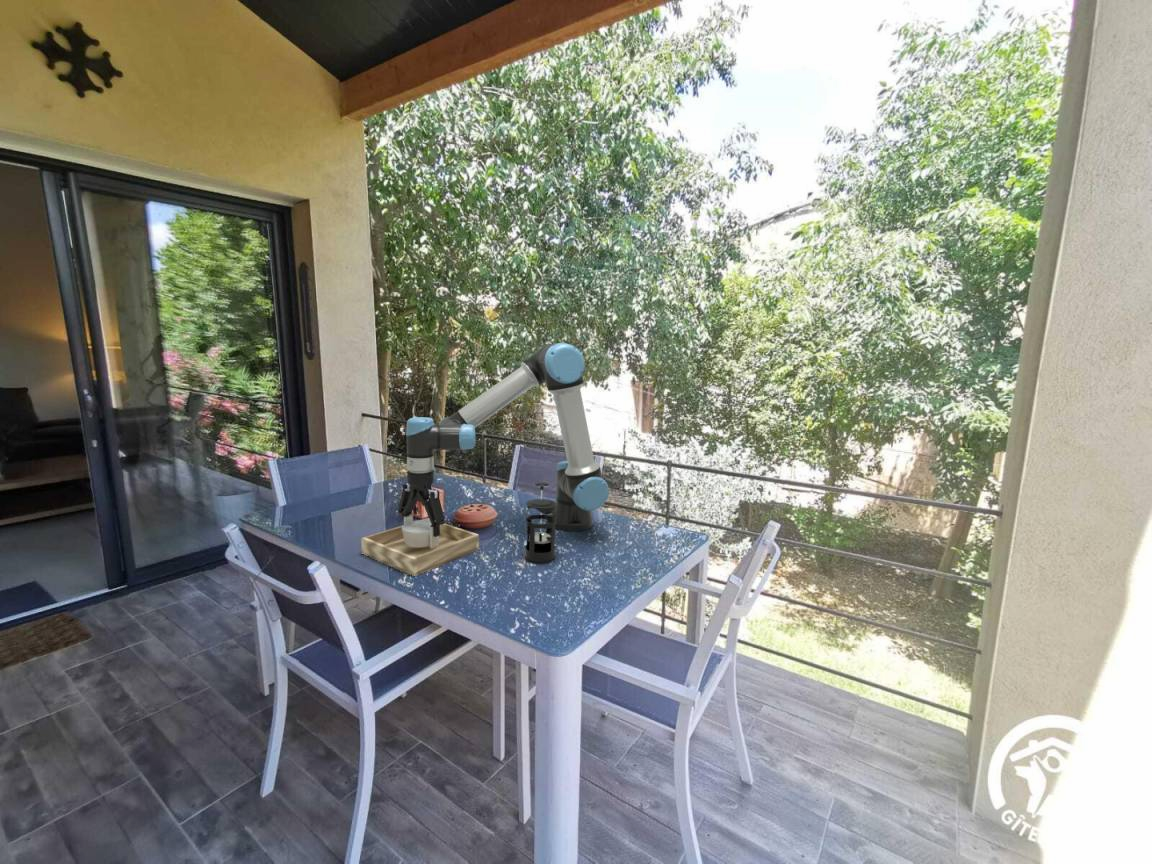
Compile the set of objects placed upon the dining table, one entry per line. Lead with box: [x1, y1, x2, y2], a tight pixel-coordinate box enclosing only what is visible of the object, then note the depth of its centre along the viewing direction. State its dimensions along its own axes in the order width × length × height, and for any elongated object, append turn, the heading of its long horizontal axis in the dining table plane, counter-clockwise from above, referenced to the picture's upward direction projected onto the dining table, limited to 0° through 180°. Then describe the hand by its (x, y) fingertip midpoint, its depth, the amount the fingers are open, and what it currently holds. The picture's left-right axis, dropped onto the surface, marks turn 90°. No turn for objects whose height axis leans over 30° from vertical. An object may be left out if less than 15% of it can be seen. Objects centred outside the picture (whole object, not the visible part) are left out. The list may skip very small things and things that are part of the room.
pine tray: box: [360, 517, 480, 577], centre depth 153 cm, size 24×24×5 cm
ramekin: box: [401, 519, 432, 548], centre depth 152 cm, size 11×11×5 cm
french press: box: [523, 481, 557, 565], centre depth 151 cm, size 12×9×23 cm
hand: (421, 541), depth 153 cm, fingers closed on ramekin, 11 cm apart
